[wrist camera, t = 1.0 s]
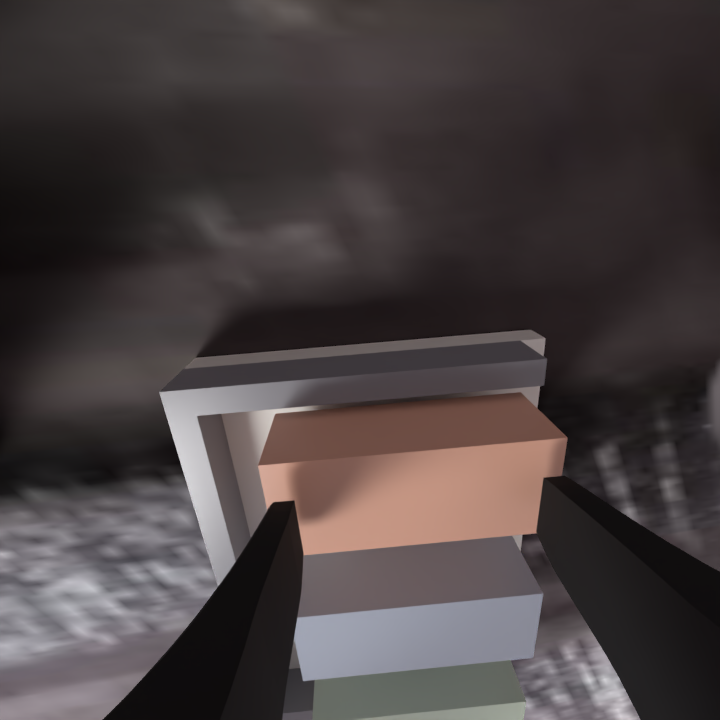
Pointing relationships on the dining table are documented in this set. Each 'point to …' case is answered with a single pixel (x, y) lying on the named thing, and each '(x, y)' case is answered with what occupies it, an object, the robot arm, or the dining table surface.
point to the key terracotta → (412, 471)
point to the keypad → (316, 392)
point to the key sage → (424, 694)
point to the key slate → (416, 608)
